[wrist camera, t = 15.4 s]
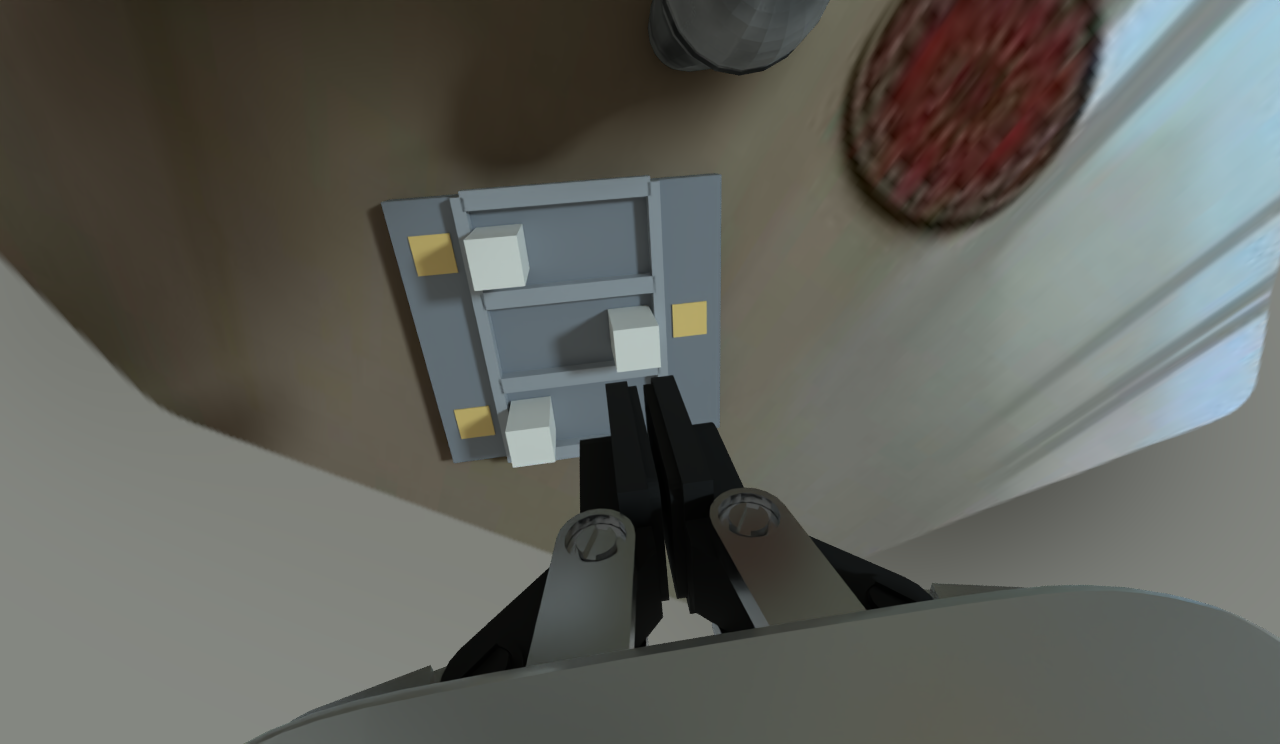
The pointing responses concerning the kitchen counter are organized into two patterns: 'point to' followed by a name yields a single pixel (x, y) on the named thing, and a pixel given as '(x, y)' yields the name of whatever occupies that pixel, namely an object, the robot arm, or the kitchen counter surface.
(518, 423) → the tab
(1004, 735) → the robot arm
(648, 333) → the tab
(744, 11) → the beverage cup
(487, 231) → the tab
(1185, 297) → the kitchen counter surface
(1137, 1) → the kitchen counter surface
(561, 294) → the switch board
